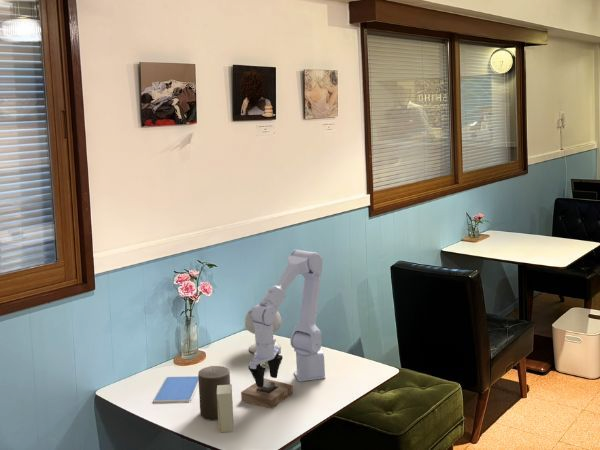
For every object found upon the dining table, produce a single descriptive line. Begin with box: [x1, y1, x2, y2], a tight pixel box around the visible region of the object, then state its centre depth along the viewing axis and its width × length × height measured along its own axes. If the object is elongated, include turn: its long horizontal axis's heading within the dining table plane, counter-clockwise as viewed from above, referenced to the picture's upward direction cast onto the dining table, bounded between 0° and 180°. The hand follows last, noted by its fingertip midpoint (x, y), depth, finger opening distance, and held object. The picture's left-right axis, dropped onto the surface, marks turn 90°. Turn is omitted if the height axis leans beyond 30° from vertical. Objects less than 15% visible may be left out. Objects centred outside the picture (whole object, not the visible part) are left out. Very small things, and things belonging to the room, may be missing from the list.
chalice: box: [244, 308, 282, 354], centre depth 253 cm, size 14×14×15 cm
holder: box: [240, 377, 294, 410], centre depth 212 cm, size 12×12×3 cm
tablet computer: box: [152, 375, 199, 404], centre depth 221 cm, size 19×13×1 cm, turn 178°
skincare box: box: [217, 383, 235, 433], centre depth 193 cm, size 6×4×12 cm
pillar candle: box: [197, 365, 231, 421], centre depth 202 cm, size 10×10×15 cm
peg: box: [258, 381, 275, 393], centre depth 213 cm, size 4×4×5 cm
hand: (266, 381), depth 212 cm, fingers open, 7 cm apart
